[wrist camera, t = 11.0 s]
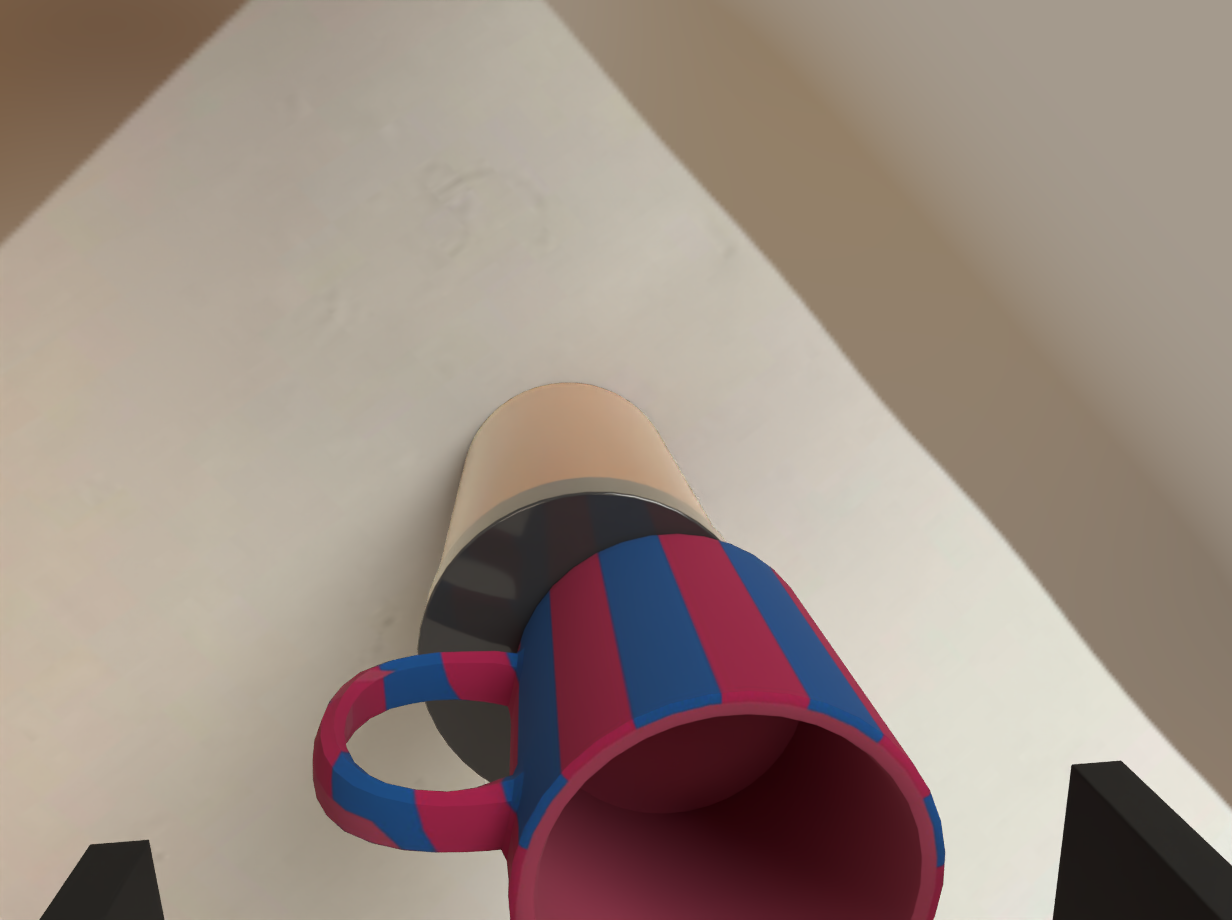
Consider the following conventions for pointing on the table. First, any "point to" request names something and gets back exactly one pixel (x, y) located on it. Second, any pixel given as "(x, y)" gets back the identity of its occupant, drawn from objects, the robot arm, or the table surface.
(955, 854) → the table surface
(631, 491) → the jar
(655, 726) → the mug
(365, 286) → the table surface
